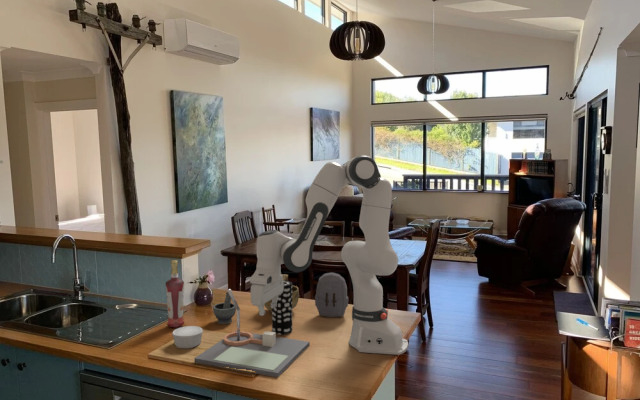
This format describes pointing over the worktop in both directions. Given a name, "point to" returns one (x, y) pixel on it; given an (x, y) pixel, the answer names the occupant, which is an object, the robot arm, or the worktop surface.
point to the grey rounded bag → (331, 295)
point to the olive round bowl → (294, 295)
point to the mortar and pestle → (224, 310)
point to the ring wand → (252, 339)
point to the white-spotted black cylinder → (283, 311)
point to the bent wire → (237, 313)
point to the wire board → (254, 355)
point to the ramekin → (187, 336)
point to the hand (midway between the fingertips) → (268, 311)
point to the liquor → (175, 298)
